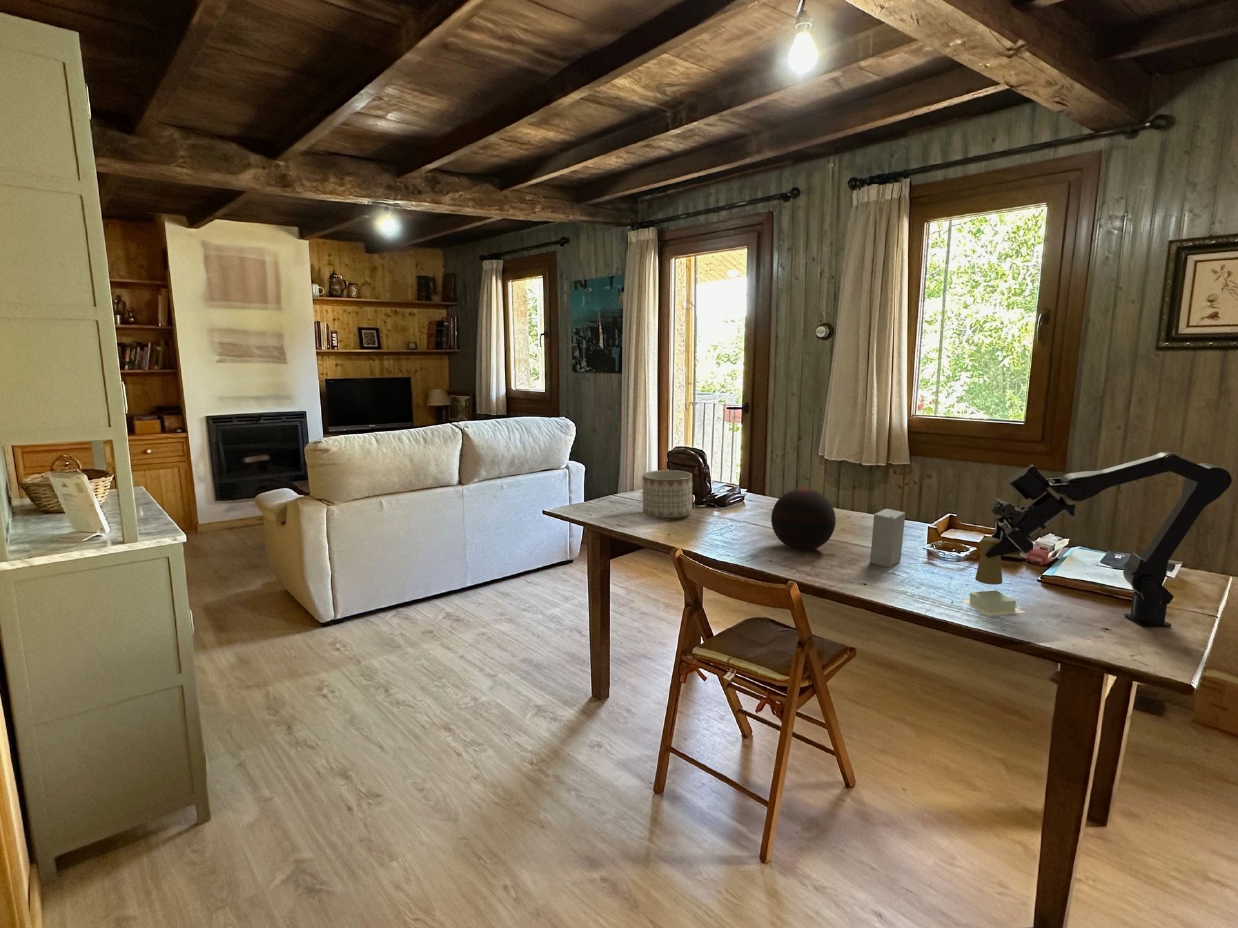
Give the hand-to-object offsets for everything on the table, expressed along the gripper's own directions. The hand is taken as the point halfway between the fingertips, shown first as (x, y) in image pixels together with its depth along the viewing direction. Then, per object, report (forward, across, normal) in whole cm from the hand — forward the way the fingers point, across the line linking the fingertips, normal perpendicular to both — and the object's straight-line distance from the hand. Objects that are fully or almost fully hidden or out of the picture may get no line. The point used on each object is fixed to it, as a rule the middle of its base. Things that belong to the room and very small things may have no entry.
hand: (984, 553), depth 167 cm
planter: (+81, -61, -64) cm, 120 cm away
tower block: (+7, +6, +10) cm, 13 cm away
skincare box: (+25, -26, -6) cm, 37 cm away
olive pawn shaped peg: (+4, 0, +6) cm, 7 cm away
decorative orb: (+43, -32, -25) cm, 59 cm away
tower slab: (+8, +6, +10) cm, 14 cm away
